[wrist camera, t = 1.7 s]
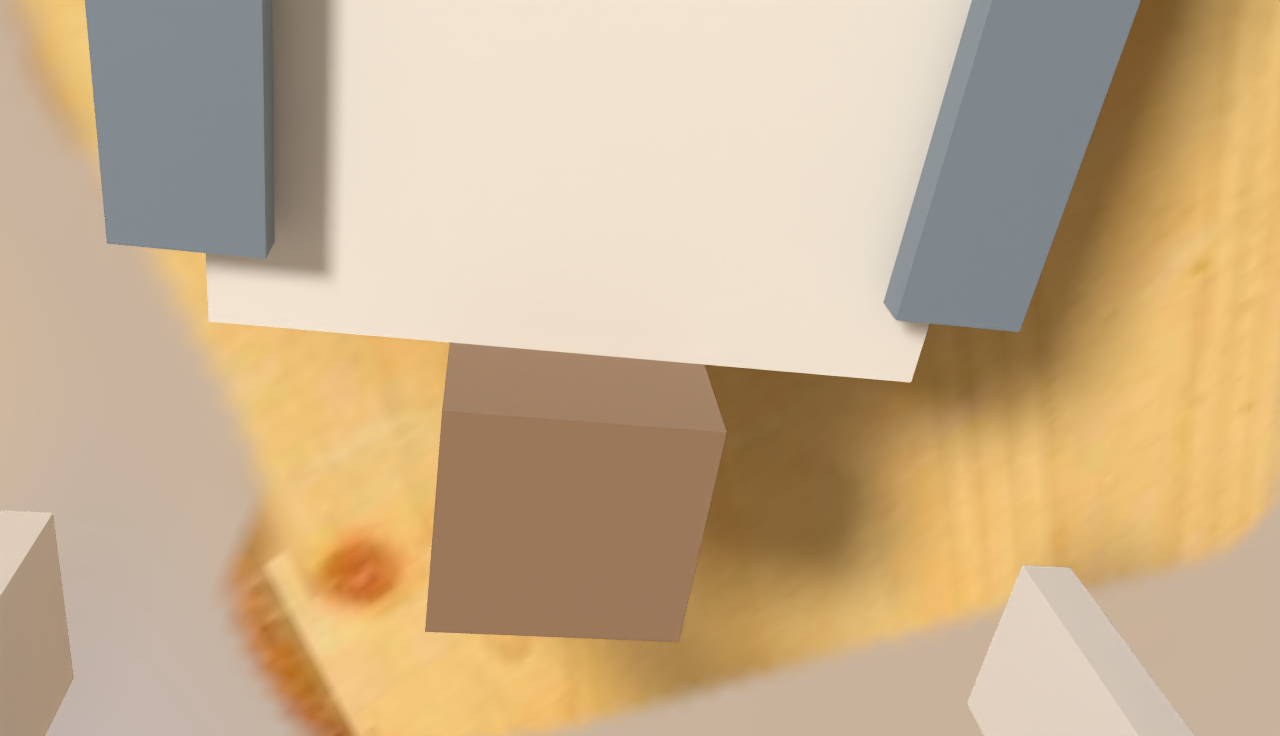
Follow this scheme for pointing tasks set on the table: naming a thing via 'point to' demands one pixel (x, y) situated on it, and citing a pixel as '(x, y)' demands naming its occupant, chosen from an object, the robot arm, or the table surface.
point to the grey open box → (933, 237)
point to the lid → (593, 254)
